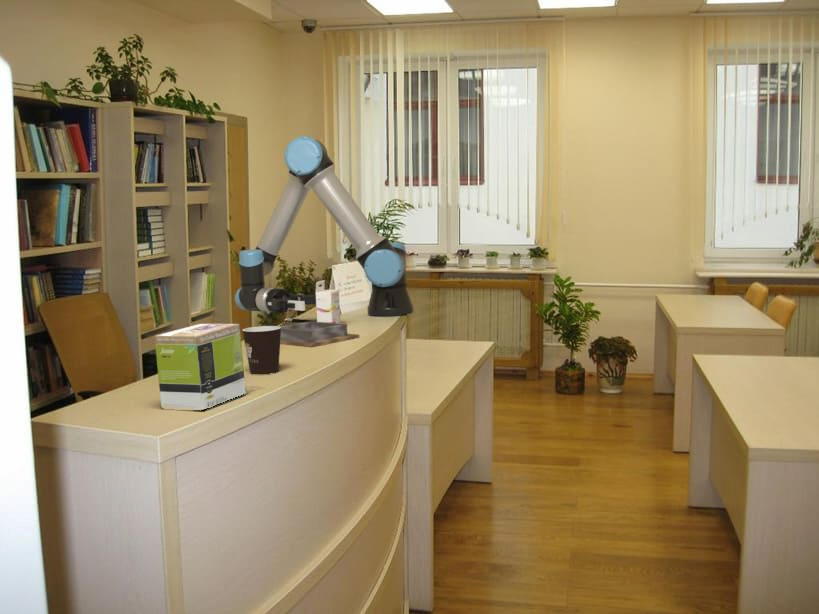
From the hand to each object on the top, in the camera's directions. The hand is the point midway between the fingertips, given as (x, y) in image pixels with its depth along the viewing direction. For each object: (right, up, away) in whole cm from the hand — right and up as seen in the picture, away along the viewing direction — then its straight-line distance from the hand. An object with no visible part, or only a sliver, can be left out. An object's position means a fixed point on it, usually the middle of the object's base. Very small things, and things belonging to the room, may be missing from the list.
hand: (320, 303), depth 276 cm
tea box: (-14, -20, -94) cm, 97 cm away
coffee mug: (-7, -16, -63) cm, 65 cm away
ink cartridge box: (+3, -8, 0) cm, 9 cm away
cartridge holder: (-1, -10, -18) cm, 21 cm away
